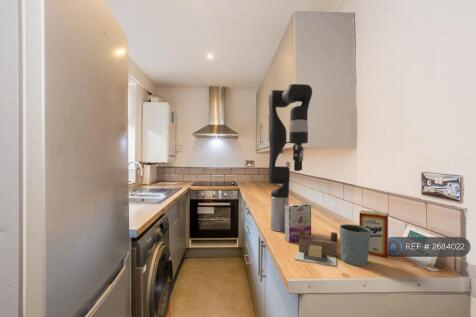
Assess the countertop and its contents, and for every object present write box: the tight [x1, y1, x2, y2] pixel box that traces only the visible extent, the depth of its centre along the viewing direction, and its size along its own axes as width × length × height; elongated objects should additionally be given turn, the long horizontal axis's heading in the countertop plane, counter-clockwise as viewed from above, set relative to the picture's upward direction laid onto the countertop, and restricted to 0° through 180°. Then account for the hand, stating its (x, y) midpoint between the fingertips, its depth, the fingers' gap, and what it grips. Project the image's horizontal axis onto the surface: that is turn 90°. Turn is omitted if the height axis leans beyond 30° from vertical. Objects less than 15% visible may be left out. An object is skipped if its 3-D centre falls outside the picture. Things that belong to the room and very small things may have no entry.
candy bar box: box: [284, 202, 312, 243], centre depth 107 cm, size 11×5×16 cm, turn 105°
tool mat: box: [294, 251, 337, 267], centre depth 86 cm, size 7×14×1 cm, turn 69°
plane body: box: [298, 225, 338, 258], centre depth 94 cm, size 6×14×9 cm, turn 69°
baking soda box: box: [358, 210, 389, 258], centre depth 94 cm, size 10×6×16 cm
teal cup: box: [339, 224, 371, 267], centre depth 85 cm, size 10×10×12 cm
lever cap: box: [303, 245, 327, 262], centre depth 86 cm, size 4×8×4 cm, turn 69°
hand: (298, 170), depth 98 cm, fingers open, 8 cm apart
